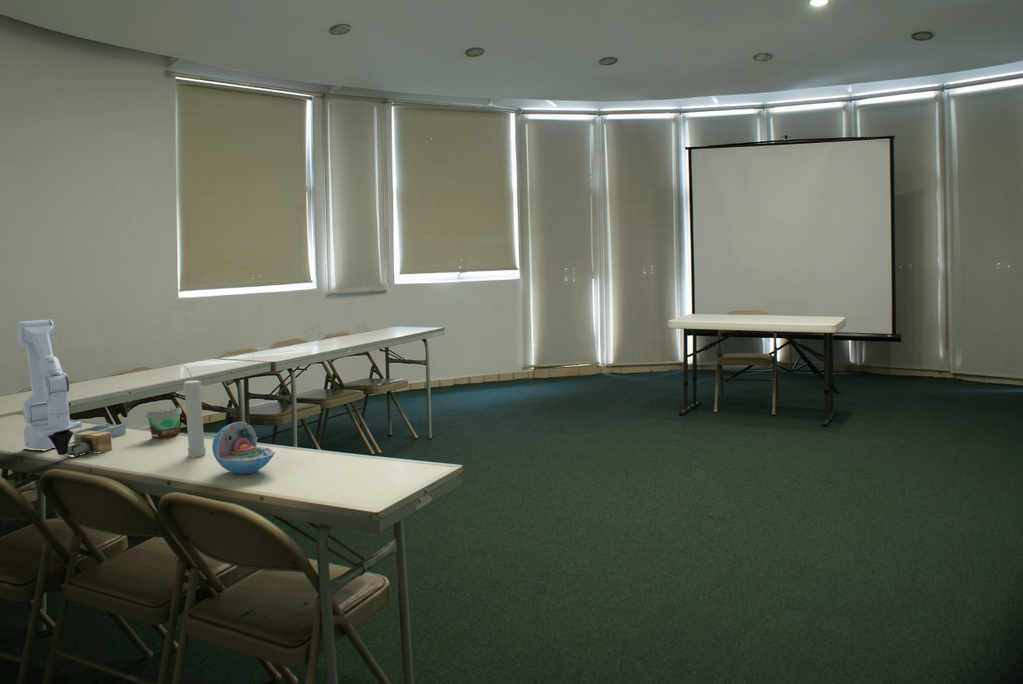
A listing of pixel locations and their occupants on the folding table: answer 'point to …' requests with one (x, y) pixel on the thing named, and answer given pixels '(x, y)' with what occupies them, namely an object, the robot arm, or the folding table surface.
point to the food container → (164, 423)
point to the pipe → (194, 417)
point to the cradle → (105, 429)
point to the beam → (95, 439)
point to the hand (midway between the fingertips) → (62, 454)
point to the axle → (80, 448)
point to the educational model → (240, 449)
